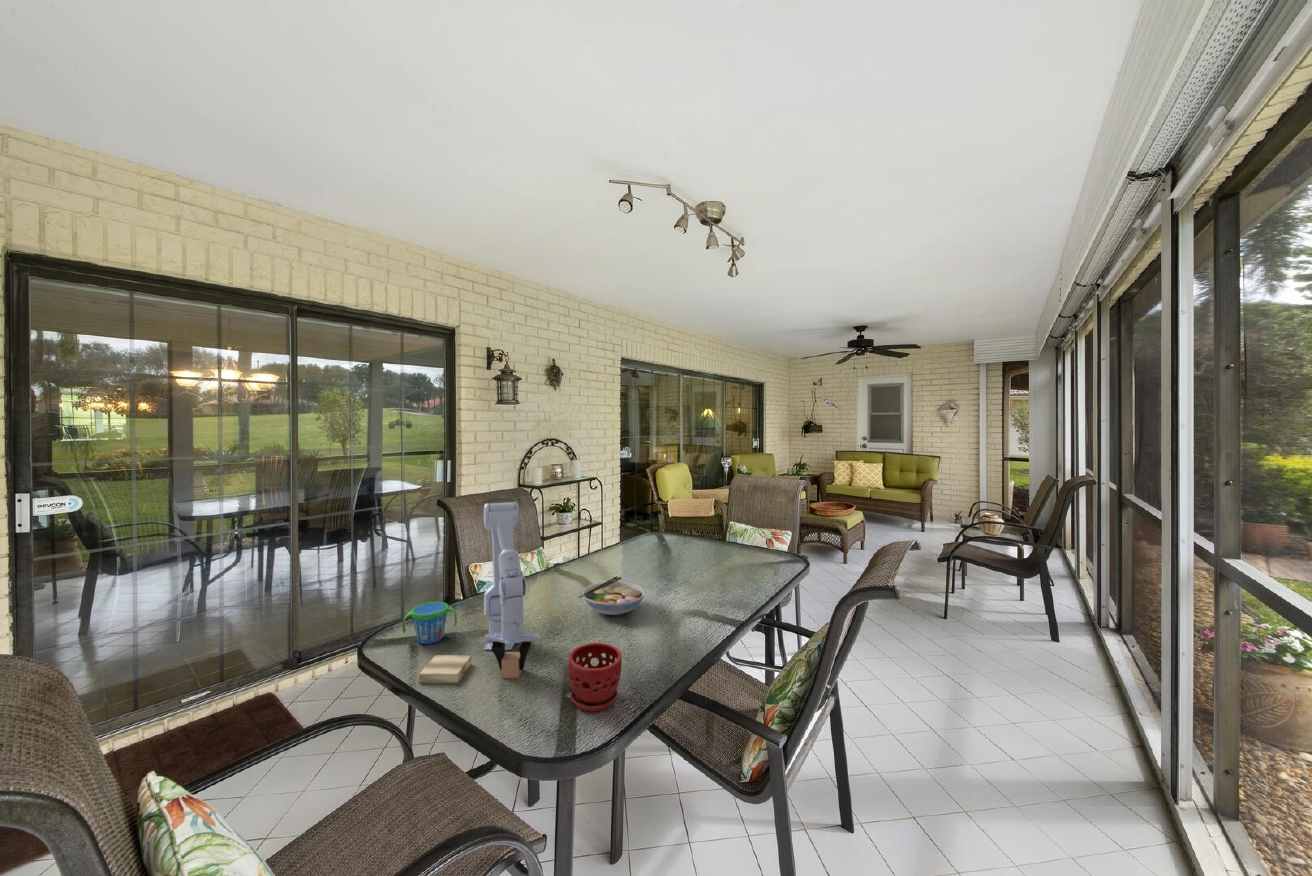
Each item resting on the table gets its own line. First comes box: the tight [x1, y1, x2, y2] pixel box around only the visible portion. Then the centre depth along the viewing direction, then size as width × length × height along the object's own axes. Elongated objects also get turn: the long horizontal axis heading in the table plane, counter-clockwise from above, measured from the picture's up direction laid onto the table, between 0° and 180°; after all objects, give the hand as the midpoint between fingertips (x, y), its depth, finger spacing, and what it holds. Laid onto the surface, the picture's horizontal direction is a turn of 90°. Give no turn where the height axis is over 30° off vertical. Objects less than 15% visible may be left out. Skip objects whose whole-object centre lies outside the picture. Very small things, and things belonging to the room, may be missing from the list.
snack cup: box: [401, 601, 458, 645], centre depth 154 cm, size 16×10×10 cm
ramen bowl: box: [577, 575, 646, 616], centre depth 178 cm, size 25×23×8 cm
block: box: [501, 651, 523, 679], centre depth 135 cm, size 4×4×5 cm
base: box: [418, 654, 472, 684], centre depth 134 cm, size 10×10×2 cm
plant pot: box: [568, 642, 623, 712], centre depth 122 cm, size 13×13×12 cm
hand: (512, 668), depth 135 cm, fingers open, 5 cm apart
